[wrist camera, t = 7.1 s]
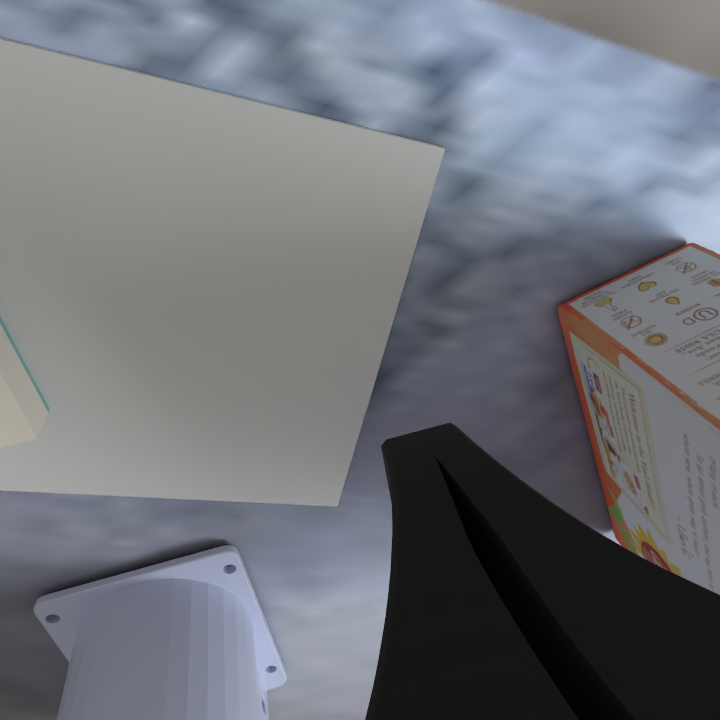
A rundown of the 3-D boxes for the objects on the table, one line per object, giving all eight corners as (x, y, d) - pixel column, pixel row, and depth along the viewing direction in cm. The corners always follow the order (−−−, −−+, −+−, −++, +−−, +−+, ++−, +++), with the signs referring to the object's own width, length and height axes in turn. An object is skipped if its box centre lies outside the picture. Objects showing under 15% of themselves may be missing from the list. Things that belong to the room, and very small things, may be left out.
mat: (441, 146, 18) (445, 148, 18) (335, 499, 24) (337, 506, 24) (-447, -73, 12) (-466, -76, 12) (-293, 467, 18) (-302, 475, 18)
